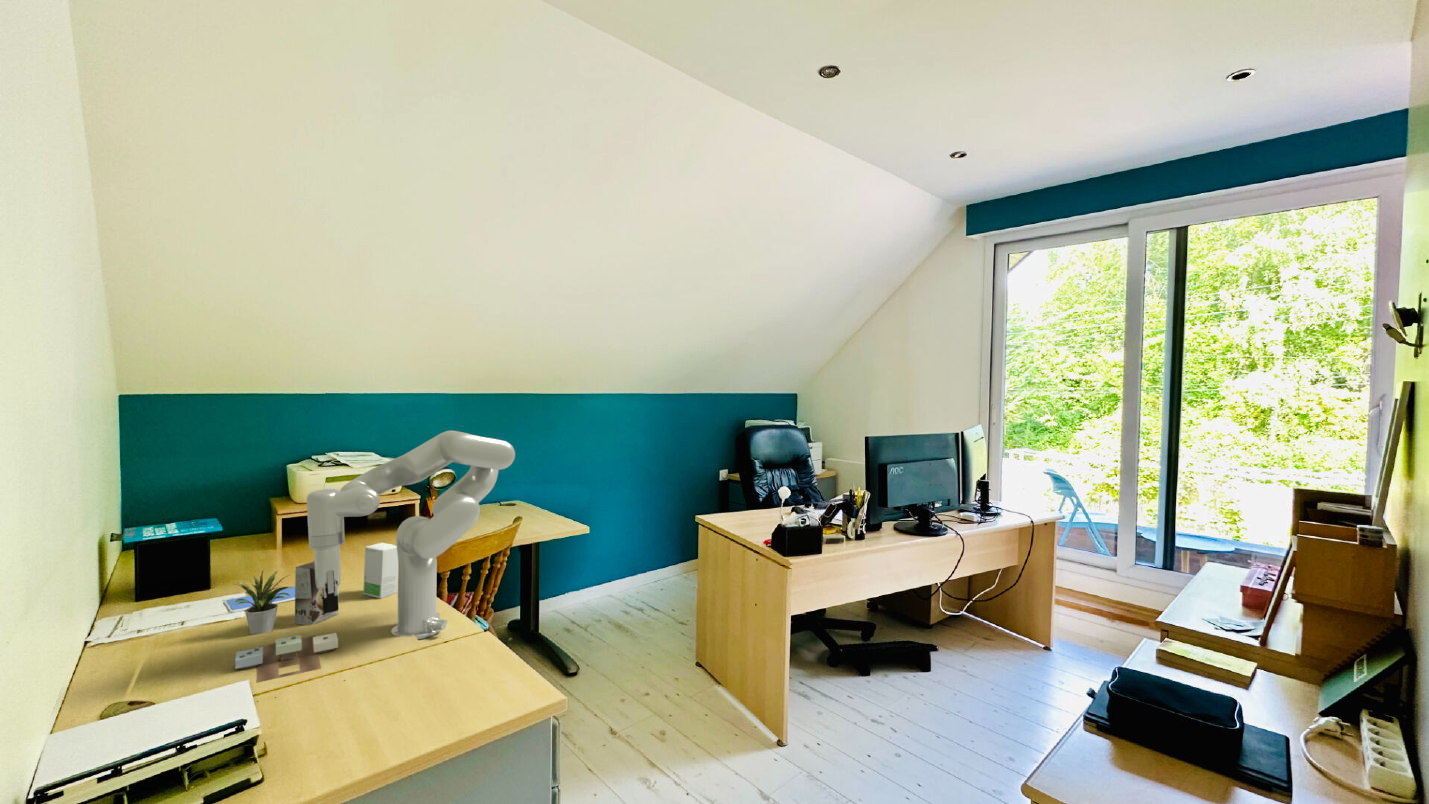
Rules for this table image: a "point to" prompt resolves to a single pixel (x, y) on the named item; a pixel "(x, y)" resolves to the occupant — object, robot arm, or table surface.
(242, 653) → the tile three
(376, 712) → the table surface
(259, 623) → the house plant
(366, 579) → the skincare box
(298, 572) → the coffee box
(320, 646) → the tile one
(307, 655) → the tile board
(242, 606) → the tablet computer
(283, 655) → the tile two
